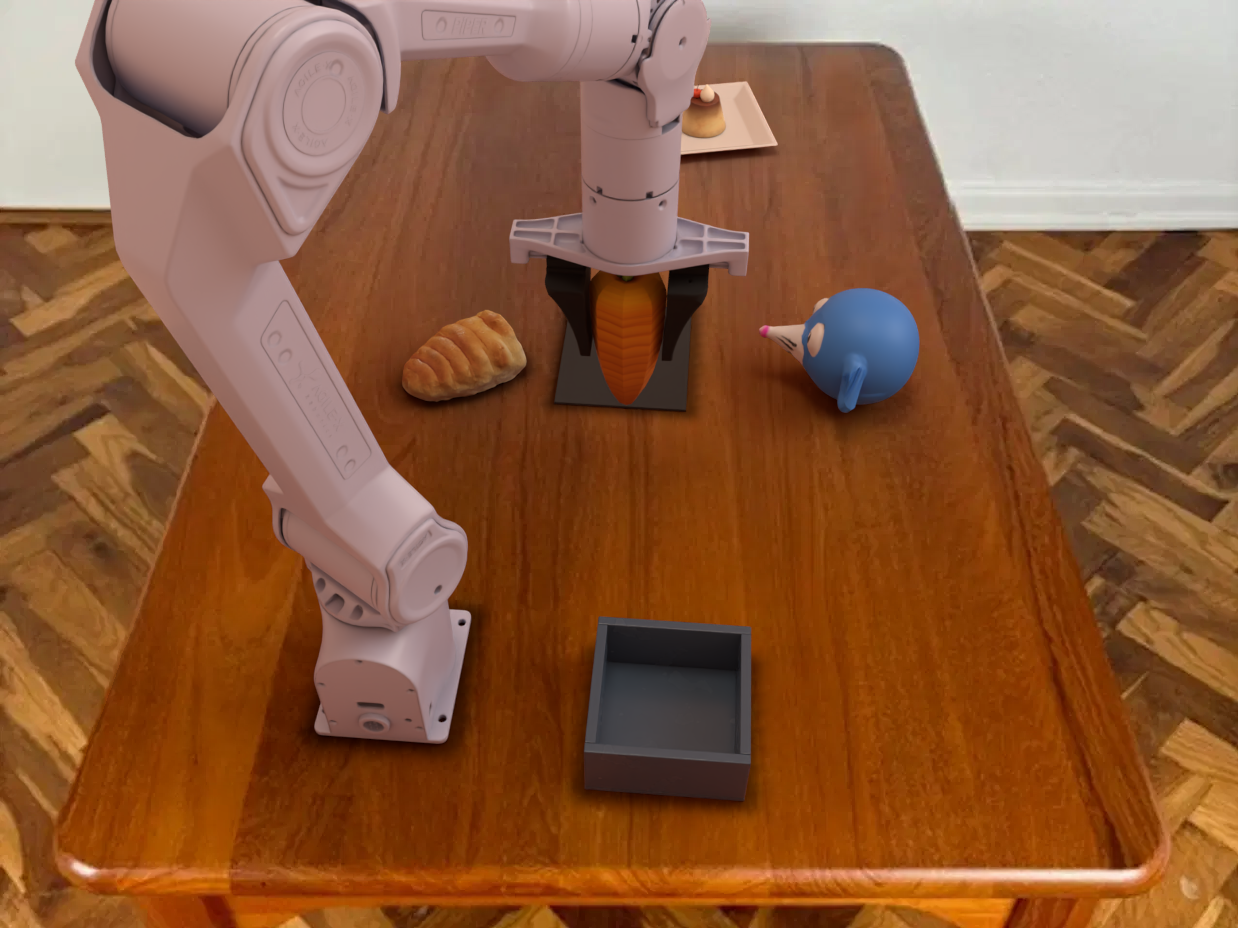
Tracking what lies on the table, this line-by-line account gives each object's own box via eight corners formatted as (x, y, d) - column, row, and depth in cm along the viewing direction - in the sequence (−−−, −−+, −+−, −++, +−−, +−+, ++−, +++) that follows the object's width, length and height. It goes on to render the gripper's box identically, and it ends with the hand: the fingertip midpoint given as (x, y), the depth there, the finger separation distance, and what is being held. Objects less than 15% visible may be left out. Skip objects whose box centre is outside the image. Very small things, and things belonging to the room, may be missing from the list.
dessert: (630, 101, 121) (631, 57, 117) (746, 91, 122) (750, 47, 119) (653, 166, 113) (655, 121, 109) (777, 155, 114) (782, 110, 111)
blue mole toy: (764, 323, 97) (775, 238, 91) (912, 345, 96) (933, 261, 89) (741, 424, 89) (751, 339, 83) (902, 451, 88) (924, 366, 81)
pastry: (432, 424, 89) (426, 386, 86) (385, 376, 93) (378, 339, 90) (534, 371, 93) (532, 334, 90) (485, 327, 97) (481, 290, 94)
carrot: (576, 398, 83) (571, 220, 72) (632, 369, 85) (636, 192, 74) (619, 439, 81) (621, 260, 70) (676, 408, 83) (686, 230, 72)
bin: (744, 801, 69) (750, 764, 65) (584, 789, 69) (583, 751, 66) (745, 666, 75) (751, 626, 72) (598, 655, 75) (598, 615, 72)
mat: (685, 411, 90) (686, 409, 90) (554, 403, 91) (554, 401, 91) (691, 309, 98) (691, 308, 98) (570, 303, 99) (570, 301, 99)
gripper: (755, 141, 72) (737, 316, 82) (516, 129, 72) (527, 303, 82) (755, 210, 67) (736, 386, 77) (498, 196, 68) (512, 373, 78)
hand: (627, 348), depth 79 cm, fingers closed on carrot, 5 cm apart
